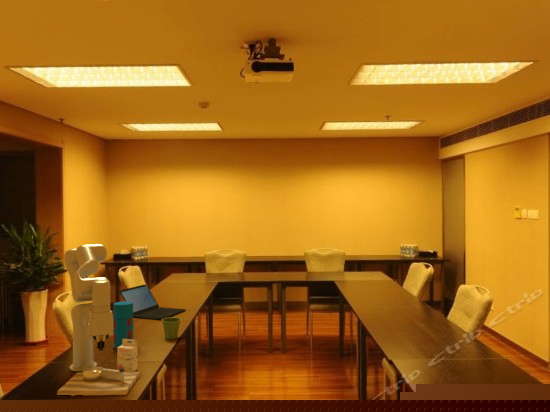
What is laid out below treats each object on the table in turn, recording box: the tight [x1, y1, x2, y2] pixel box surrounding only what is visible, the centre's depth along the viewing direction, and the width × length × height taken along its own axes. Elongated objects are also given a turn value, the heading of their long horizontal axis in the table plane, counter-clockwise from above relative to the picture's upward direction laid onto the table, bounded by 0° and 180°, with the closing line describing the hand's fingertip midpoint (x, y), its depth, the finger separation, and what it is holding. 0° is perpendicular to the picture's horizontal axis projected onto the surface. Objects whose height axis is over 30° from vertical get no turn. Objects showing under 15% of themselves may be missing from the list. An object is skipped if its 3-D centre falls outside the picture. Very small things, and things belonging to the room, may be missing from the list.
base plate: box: [56, 371, 141, 397], centre depth 207 cm, size 22×29×2 cm
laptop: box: [118, 283, 187, 321], centre depth 348 cm, size 33×38×19 cm
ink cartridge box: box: [116, 339, 138, 372], centre depth 226 cm, size 9×5×15 cm, turn 77°
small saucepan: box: [82, 366, 124, 381], centre depth 209 cm, size 20×9×6 cm, turn 73°
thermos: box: [112, 300, 134, 350], centre depth 265 cm, size 11×11×25 cm
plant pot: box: [161, 316, 182, 340], centre depth 282 cm, size 12×12×11 cm
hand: (100, 349), depth 204 cm, fingers closed
